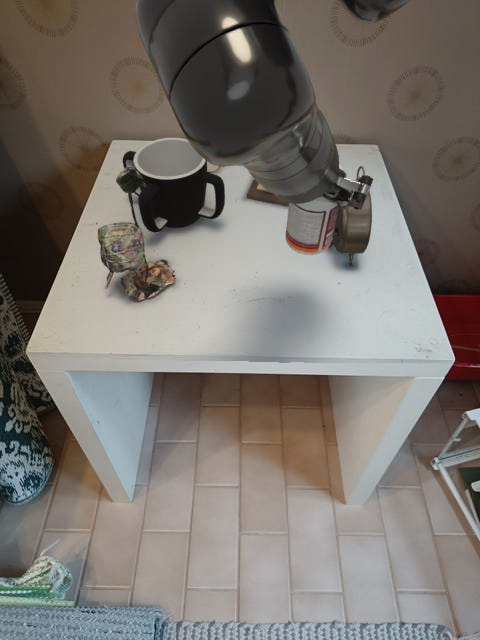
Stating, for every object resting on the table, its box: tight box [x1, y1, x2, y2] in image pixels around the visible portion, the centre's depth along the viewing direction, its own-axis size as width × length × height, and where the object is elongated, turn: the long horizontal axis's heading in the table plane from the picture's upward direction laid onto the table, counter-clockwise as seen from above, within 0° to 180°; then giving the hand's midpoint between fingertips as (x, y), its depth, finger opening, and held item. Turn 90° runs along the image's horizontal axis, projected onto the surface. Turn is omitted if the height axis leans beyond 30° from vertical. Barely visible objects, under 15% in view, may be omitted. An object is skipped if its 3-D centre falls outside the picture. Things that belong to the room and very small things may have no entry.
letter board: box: [246, 178, 289, 207], centre depth 84 cm, size 22×9×1 cm, turn 73°
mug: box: [122, 137, 226, 234], centre depth 76 cm, size 16×16×12 cm
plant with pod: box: [94, 165, 177, 302], centre depth 63 cm, size 8×11×20 cm
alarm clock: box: [328, 165, 373, 267], centre depth 69 cm, size 11×5×16 cm, turn 179°
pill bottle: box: [285, 163, 343, 256], centre depth 54 cm, size 6×6×11 cm
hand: (319, 191), depth 54 cm, fingers closed on pill bottle, 6 cm apart
